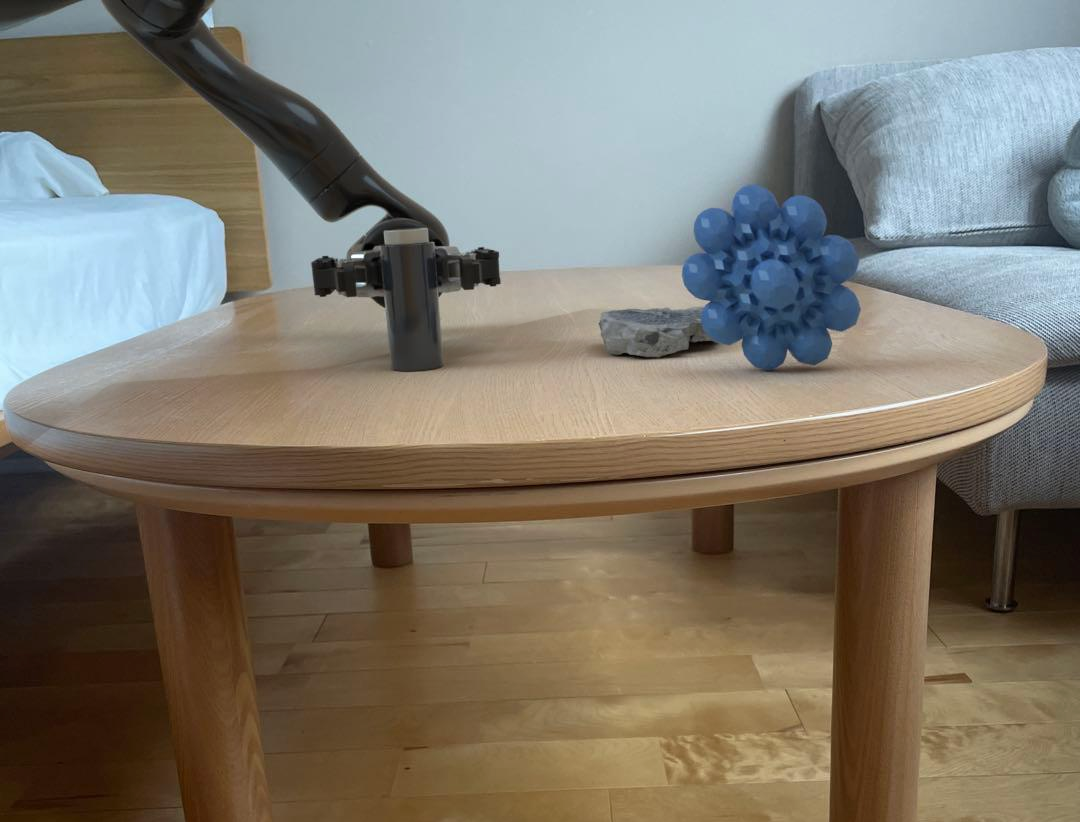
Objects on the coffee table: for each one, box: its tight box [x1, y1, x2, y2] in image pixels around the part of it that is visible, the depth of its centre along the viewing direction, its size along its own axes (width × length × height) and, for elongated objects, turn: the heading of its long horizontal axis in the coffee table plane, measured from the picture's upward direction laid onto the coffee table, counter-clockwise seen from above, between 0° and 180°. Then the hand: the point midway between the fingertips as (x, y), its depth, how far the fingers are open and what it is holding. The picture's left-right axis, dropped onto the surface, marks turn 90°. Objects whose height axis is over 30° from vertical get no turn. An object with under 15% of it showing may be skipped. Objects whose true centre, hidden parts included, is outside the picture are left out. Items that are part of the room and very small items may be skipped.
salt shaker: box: [380, 228, 445, 372], centre depth 78 cm, size 4×4×10 cm
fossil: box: [598, 306, 714, 358], centre depth 82 cm, size 11×4×10 cm
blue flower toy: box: [681, 184, 862, 371], centre depth 68 cm, size 12×7×12 cm, turn 82°
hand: (409, 278), depth 75 cm, fingers open, 8 cm apart
